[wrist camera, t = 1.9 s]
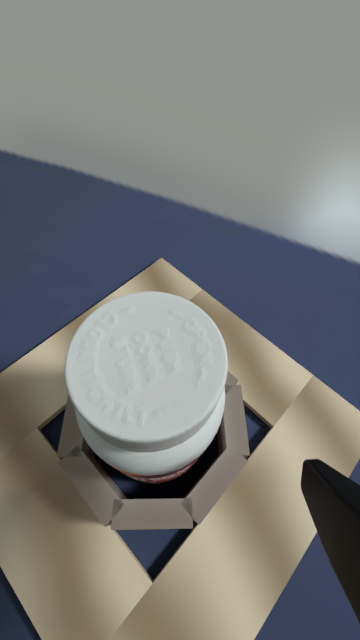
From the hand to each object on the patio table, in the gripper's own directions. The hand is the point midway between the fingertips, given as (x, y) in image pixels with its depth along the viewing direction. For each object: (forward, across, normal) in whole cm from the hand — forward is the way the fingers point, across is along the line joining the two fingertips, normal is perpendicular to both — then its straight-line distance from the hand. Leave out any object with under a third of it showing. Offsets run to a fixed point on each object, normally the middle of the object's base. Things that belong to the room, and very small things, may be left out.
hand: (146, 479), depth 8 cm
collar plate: (+10, 0, +5) cm, 11 cm away
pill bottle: (+10, 0, +5) cm, 11 cm away
